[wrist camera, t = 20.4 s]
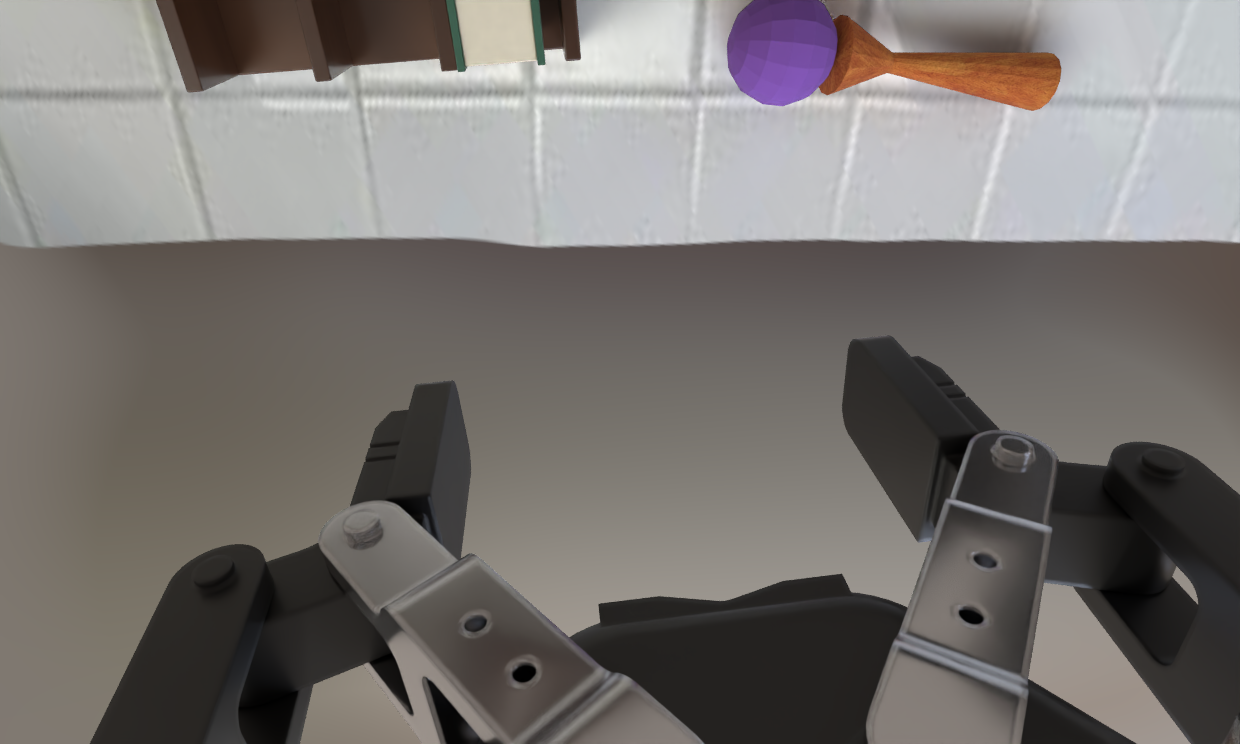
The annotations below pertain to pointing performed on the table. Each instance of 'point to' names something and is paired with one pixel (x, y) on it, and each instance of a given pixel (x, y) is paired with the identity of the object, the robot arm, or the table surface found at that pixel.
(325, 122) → the table surface
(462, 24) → the book
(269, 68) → the rack
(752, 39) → the kendama
